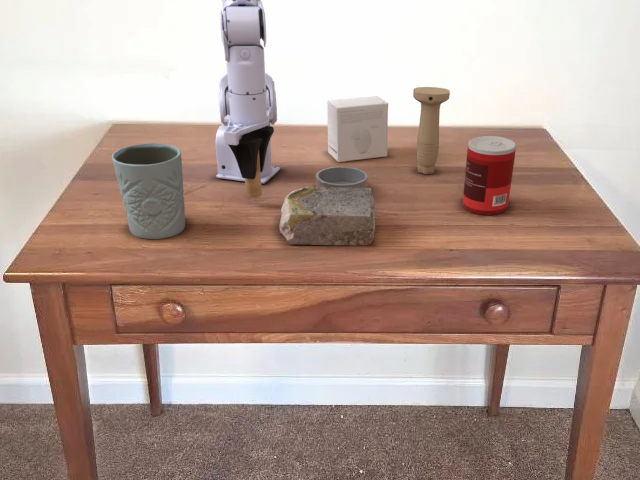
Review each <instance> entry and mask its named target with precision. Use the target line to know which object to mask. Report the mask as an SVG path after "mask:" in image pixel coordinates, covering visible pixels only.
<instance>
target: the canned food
mask: <svg viewBox="0 0 640 480" xmlns="http://www.w3.org/2000/svg"><path fill="white" fill-rule="evenodd" d="M516 151H517V144H516V142H515V141H514V140H512V139H509V138H506V137H503V136H498V135H482V136H476V137H473V138H471V139H470V140H468V144H467V151H466V159H465V160H466V161H465V171H464V182H463V192H462V193H463V194H462V205H463V207H464V209H465V210H467V211H468V212H470V213H473V214H476V215H481V216H496V215H500V214H502V213H503V212H505V211H506V210H507V208H508V205H509V201H510V197H511V196H510V195H511V188H512V182H513V181H512V180H513V173H514V166H515V159H516Z"/></svg>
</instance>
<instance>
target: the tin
mask: <svg viewBox="0 0 640 480" xmlns="http://www.w3.org/2000/svg"><path fill="white" fill-rule="evenodd" d="M368 178H369V176H368V173H367V172H366V171H364V170H362V169H360V168H356V167H353V166H331V167H326V168H322V169H321V170H318V171H317V172H316V173H315V188H316V189H319V188H320V187H324V188H327V189H330V188H331V187H336V188H368V182H369V181H368Z"/></svg>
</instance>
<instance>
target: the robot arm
mask: <svg viewBox="0 0 640 480" xmlns="http://www.w3.org/2000/svg"><path fill="white" fill-rule="evenodd" d="M266 20H267V19H266V13H265V9H264V6H263V2H262V1H261V0H222V10H220V12H219V22H220V35H221V42H222V46H223V50H224V61H225V62H226V73H225V74H224V75H223V76H222V77H221V78H219V82H218V90H219V91H218V105H219V115H220V123H221V125H219V127H218V128H217V129H216V134H215V143H214V144H215V155H216V156H215V157H216V166H217V174H216V175H215V177H216V178H217V179H222V180H223V179H224V180H229V181H237V182H245V178H247V179H255V177H256V172H257V157H258V151H259V156H260V173H261V185H263V184H266V183H267V182H268V181H269V180H271V179H272V178H273V177H274V176H275V175H277V173H278V172H279V171H280V170H281V167H280V166H274V165H273V164H272V162H273V161H272V142H271V141H272V139H271V138H272V137H273V134H274V133H275V132H274V130H275V129H274V126H272V125H275V124H276V123H277V122H278V108H277V106H278V105H277V94H276V90H275V89H276V88H275V81H274V80H273V77H272V76H270V74H268V73H266V65H265V64H266V61H265V49H264V48H266V45H267V23H266ZM261 40H262V41H263V45H262V44H261Z"/></svg>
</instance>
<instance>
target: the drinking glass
mask: <svg viewBox="0 0 640 480" xmlns="http://www.w3.org/2000/svg"><path fill="white" fill-rule="evenodd" d="M111 161H112V165H113V168H114V173H115V176H116V180H117V183H118V188H119V192H120V196H121V198H122V204H123V208H124V211H125V216H126V219H127V225H128V229H129V233H131V234H132V236H134V237H136V238H139V239H144V240H162V239H168V238H171V237H174V236H177V235H179V234H180V233H182V232H183V231H184V230H185V228H186V212H185V211H186V209H185V197H184V176H183V163H182V151H181V149H180V148H179V147H177V146H175V145H172V144H167V143H153V142H152V143H151V142H149V143H138V144H132V145H128V146H125V147H122V148H119V149H118V150H115V151H114V152H113V153H112V155H111Z"/></svg>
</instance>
